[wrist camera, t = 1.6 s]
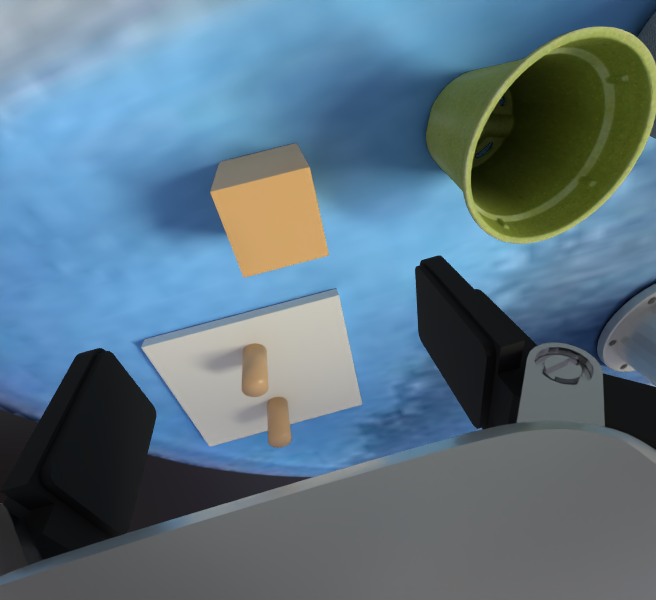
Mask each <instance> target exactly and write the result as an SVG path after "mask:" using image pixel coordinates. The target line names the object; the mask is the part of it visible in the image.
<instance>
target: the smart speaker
mask: <svg viewBox="0 0 656 600" xmlns="http://www.w3.org/2000/svg"><path fill="white" fill-rule="evenodd" d="M637 38H638V39H639V40H640V41H641V42H642V43H643V44H644V45H645V46H646V47H647V48H648V50H649V51H650V53H651V55H652V57H653V59H654V61H655V65H656V12H655V13H654V14H653V15H652V17H651V18H650V19H649V20H648V22H647V23H646V24H645V26H644V27H643V29H642V30H641V32H640V33H639V35H638V37H637ZM650 136H651V137H653V138H656V115H655V120H654V123H653V127H652V130H651V133H650Z"/></svg>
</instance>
